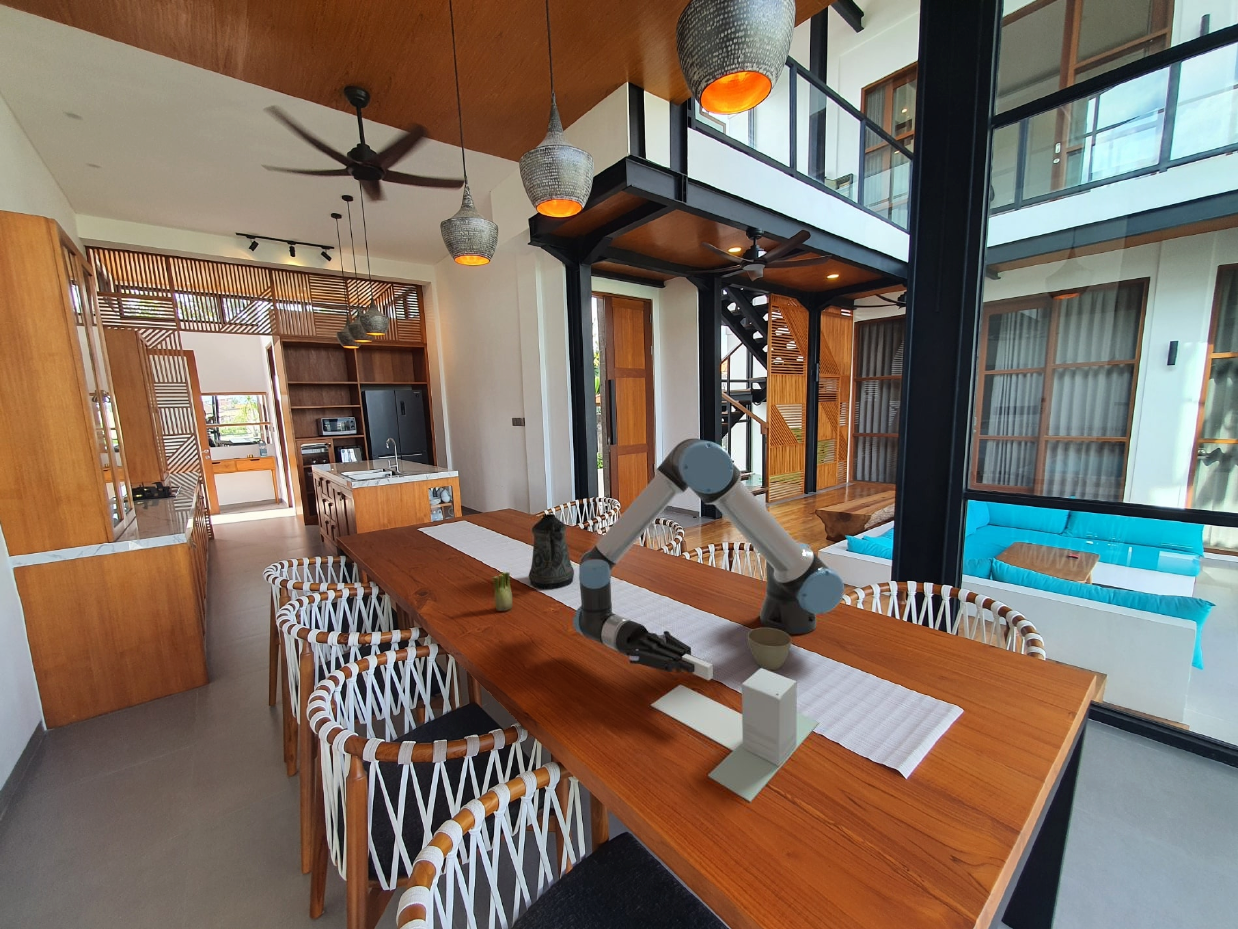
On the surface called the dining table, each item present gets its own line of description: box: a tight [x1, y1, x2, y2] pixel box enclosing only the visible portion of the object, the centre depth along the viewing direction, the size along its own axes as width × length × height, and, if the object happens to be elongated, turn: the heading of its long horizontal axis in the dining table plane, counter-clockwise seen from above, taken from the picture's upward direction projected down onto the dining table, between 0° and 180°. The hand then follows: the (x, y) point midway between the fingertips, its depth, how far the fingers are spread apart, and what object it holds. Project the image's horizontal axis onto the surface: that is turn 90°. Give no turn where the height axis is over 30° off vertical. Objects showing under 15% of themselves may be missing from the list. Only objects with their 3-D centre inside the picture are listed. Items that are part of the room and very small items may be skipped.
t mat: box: [650, 684, 820, 803], centre depth 95 cm, size 28×26×1 cm
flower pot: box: [747, 627, 793, 671], centre depth 115 cm, size 10×10×7 cm
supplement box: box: [741, 667, 798, 766], centre depth 87 cm, size 7×7×13 cm
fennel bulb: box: [493, 571, 513, 612], centre depth 152 cm, size 6×5×12 cm
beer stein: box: [528, 513, 575, 591], centre depth 174 cm, size 16×19×25 cm
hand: (710, 672), depth 95 cm, fingers closed
